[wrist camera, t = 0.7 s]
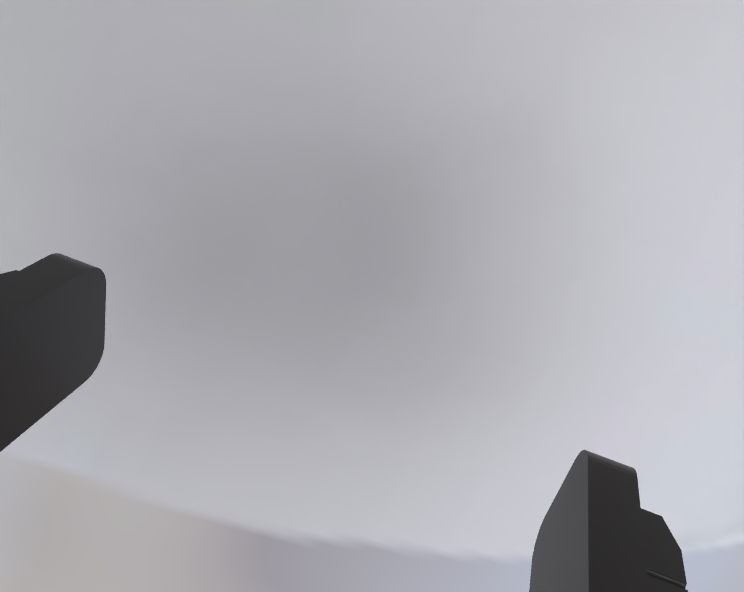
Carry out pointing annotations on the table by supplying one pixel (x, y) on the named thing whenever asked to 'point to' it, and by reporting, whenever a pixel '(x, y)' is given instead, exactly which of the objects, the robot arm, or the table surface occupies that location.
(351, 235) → the table surface
